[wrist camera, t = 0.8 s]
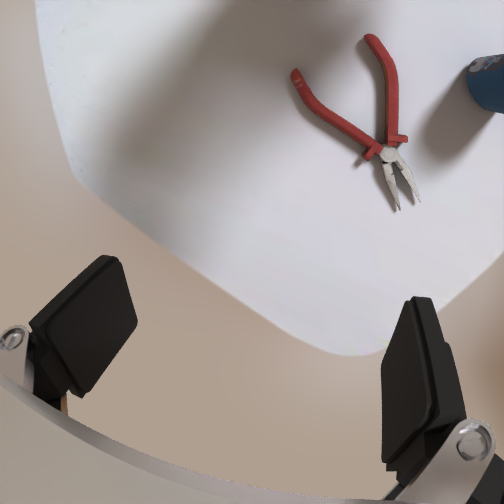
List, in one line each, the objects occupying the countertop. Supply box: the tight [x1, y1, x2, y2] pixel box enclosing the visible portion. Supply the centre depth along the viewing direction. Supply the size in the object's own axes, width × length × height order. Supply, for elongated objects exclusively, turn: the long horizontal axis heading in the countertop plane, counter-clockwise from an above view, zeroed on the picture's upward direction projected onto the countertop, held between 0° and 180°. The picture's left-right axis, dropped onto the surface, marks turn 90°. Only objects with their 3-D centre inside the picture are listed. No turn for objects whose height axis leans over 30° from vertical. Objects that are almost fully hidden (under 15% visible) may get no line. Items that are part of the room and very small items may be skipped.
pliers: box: [291, 34, 421, 211], centre depth 31 cm, size 12×21×3 cm, turn 32°
